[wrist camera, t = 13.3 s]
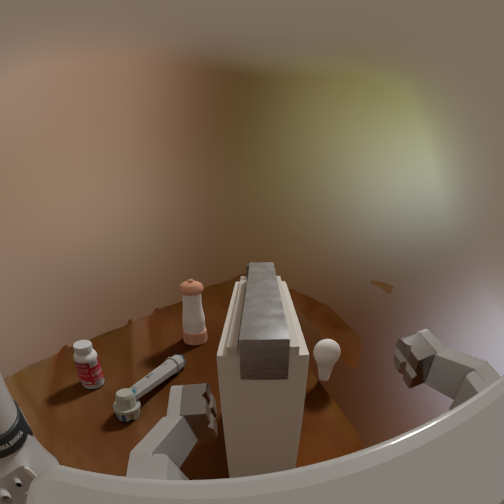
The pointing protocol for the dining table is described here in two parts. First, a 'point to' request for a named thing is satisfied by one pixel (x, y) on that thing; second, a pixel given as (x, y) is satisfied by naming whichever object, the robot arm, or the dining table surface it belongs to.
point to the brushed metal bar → (263, 327)
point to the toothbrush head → (144, 388)
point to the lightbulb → (326, 357)
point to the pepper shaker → (193, 313)
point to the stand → (261, 397)
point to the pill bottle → (88, 365)
